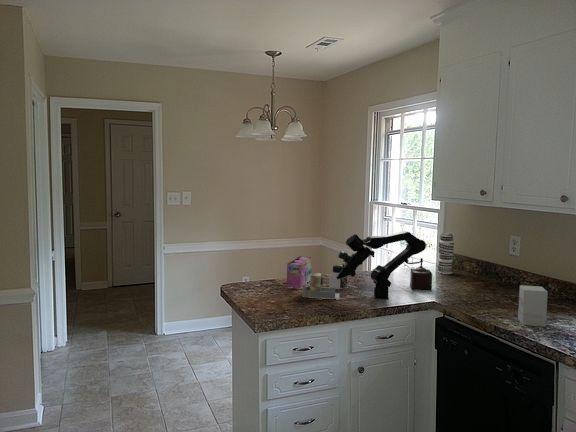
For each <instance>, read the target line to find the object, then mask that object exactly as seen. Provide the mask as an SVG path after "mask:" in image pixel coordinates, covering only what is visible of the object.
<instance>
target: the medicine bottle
mask: <svg viewBox="0 0 576 432" xmlns="http://www.w3.org/2000/svg"><path fill="white" fill-rule="evenodd" d="M341 270H342V265H341V264H335V265H333V266H332V273H331V274H329V275H328V279H329V280H328V281H329V282H328V284H329V285H328V287H332V288H336V290H339V289H341V290H343V289H346V288H348V276H346V277H343V278H340V279H337V278H336V277H337V276H338V274H339V273H340V271H341Z"/></svg>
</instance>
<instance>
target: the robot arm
mask: <svg viewBox="0 0 576 432" xmlns="http://www.w3.org/2000/svg"><path fill="white" fill-rule="evenodd" d="M401 241H405V243H406V247H405V248H404V249H403V250H402V251H400V252H399V254H397V255H396V256H395V257H393V258H392V259H391V260H390V261H389V262H387V263H386V264H385V265H379V264H378V265H377V266H376V267H375V268H374V269H372V271H370V279H371V280H372V282H373V284H374V287H373V296H374V298H375V299H379V300H380V299H382V300H385V299H386V300H389V287H390V288H391V285H392V282H391V281H390V280H389V278H390V277H391V274H392V273H393V272H394V271H395V270H397V269H398V268H400V266H401V265H403V263H406V262H405V261H406V260H407V259H408V260H409V259H410V258H411V257H413V256H414V255H417V254H420V253H422V252H423V251H425V250H426V247H427V244H426V241H425V240H423V239H420V238H418V237H417V236H415V235H414V234H413V233H411V232H409V231H406V230H403V231H401V232H395V233H390V234H386V235H369V236H367V237H366V238H363V239H361V238H360V237H359V236H358V234H356V233H354V234H353V235H351V236H350V237H349V238H347V239H346V241H345V244H346V246H347V247H349V249H350V250H352V251H353V252H355V253H352V254H351V253H348V252H346V251H344V250H340V252H339V253H338V259H341V260H342V262H343V263H342V265H341V266H342V270H341V271H340V273H339V274H338V276H337V277H336V278H337V279H340V278H343V277H346V276H347V277H349V276H351V277H352V278H354V277H355V276H356V270H357V269H358V267H359V266H361V265H363V264H364V262H365V261H366V260H367V259H368V258H369V257H370V256H371V257H372V258H375V250H378V249H380V248H383V246H385V245H388V244H392V243H397V242H401Z"/></svg>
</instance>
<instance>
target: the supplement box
mask: <svg viewBox="0 0 576 432" xmlns="http://www.w3.org/2000/svg"><path fill="white" fill-rule="evenodd" d="M518 292H519V294H518V312H517V319H518V321H519V322H520V323H521V325H523V326H531V327H532V326H533V327H544V328H545V327H547V313H548V312H547V311H548V310H547V309H548V296H549V295H548V293H549V292H548V290H546V289H545V288H544V287H543V286H539V285H538V286H535V285H534V286H533V285H519V291H518Z"/></svg>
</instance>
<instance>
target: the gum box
mask: <svg viewBox="0 0 576 432" xmlns="http://www.w3.org/2000/svg"><path fill="white" fill-rule="evenodd" d="M311 273H312V257H303V256H297V257H296V258H294V259H293V260H291V261H290V262H288V263H286V288H287V287H293V288H301V287H303V283H304V281H307V282H309V281H310V278H311ZM309 283H310V282H309ZM301 289H302V288H301Z"/></svg>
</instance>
